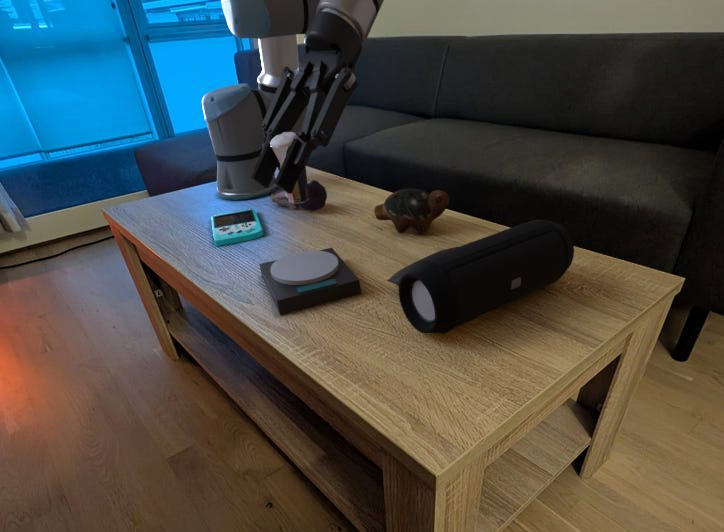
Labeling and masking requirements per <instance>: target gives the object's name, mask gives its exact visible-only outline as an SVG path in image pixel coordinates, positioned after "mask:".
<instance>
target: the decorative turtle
mask: <svg viewBox="0 0 724 532" xmlns="http://www.w3.org/2000/svg"><path fill="white" fill-rule="evenodd" d="M449 203H450V198H449V195H448V194H447V193H446V192H445V191H443V190H440V189H436V190H432V191H431V192H430V193H428V192H427V191H426V190H424V189H420V188H411V187H410V188H402V189H398V190H396V191H394V192H393V193H391V194H390V195H389V196H388V197H387V198H386V199H385V200H384V202H383V203H382V204H378V205H376V206H375V207H374V209H373V212H374V216H375V218H376V220H378V221H391V222H392V223H393V225H394V228H395V230H396V232H397V233H399V234H403V233H405V232H407V230H409V229H410V228H412V229H413V230H414V231H415V232H416V234H418V235H419V236H424V235H425V234H426V233H427V232H428V229H429V227H430V225H432V223H433V221H435V220H436V219H438V218H439V217H441V215H443V214H444V212H445V211H446V209H447V207H448V206H449Z"/></svg>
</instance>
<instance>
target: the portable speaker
mask: <svg viewBox="0 0 724 532" xmlns="http://www.w3.org/2000/svg"><path fill="white" fill-rule="evenodd" d="M456 247H457V248H454V247H453V248H454V249H452V250H449V251H446V252H443V253H441V254H438V255H435V256H433V257H430V258H427V259H424V260H422V261H419V260H418V261H419V262H417V263H416V264H415V265H414V266H413V267H412V268H410V269H409V270H408V271H407V272H406V273H405V274H404V275H403V276H402V278H401V280H400V283H399V286H398V299H399V304H400V306H401V309H402V312H403V314H404V316H405V317H406V319H407V321H408V323H410V325H411V326H412V327H413V328H414V329H415V330H417V331H418V332H419V333H422V334H426V335H427V334H429V335H430V334H446V333H449V332H450V331H452V330H454V329H456V328H458V327H460V326H463V325H465V324H467V323H469V322H471V321H474V320H476V319H478V318H481V317H482V316H484V315H486V314H489V313H491V312H494V311H496V310H498V309H500V308H502V307H504V306H506V305H508V304H511V303H514V302H515V301H517V300H519V299H522V298H524V297H526V296H528V295H530V294H532V293H535V292H536V291H539V290H541V289H543V288H546V287H548V286H550V285H552V284H555V283H557V282H558V281H559V280H560V279H561V278H562V277H563V276H564V275H565V274H566V272H567V271H568V269H569V268H570V266H571V265H572V263H573V260H574V258H575V257H574V256H575V245H574V241H573V238H572V235H571V234H570V233H569V231H568V230H567V229H566V228H565V226H563V225H562V224H560V223H559V222H556V221H551V220H546V219H541V218H539V219H532V220H530V221H527V222H523V223H520V224H518V225H515V226H512V227H509V228H507V229H504V230H501V231H499V232H496V233H493V234H489V235H488V236H485V237H482V238H479V239H476V240H474V241H470V242H469V243H466V244H463V245H460V246H456Z"/></svg>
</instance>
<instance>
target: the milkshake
mask: <svg viewBox="0 0 724 532" xmlns="http://www.w3.org/2000/svg"><path fill="white" fill-rule="evenodd" d="M261 130H262V129H261ZM262 132H263V130H262ZM263 134H264V135H265V133H264V132H263ZM265 137H266V135H265ZM266 138H267V137H266ZM294 138H295V139H298V140H299V141H300V142H301V139H300V138H299V137H298V136H297V135H296V133H294V132H283V133H282V134H280V135H276V136H275V137H274V138H273V139H272V140H271V142H270V141H269V140H268V138H267V140H268V141H269V143H270V145H271V148H272V152H273V155H274V158H275V161H276V164H277V170H278V172H279V171H280V168H281V166H282V164H283V162H284V159H285V157H286V155H287V153H288V150H289V148H290V146H291V144H292V141H293V139H294ZM307 182H308V175H307V165H306V166H305V168H304V169H303V170H302V171H301V173H300V176H299V178H298V180H297V182H296V185H295V187H294V189H293V191H292V194H289V193H287V192H286V191H285V195H286V198H287V201H288V202H289V203H293V204H296V203H302V202H305V201H307V200H308V199H309V191H308V183H307Z"/></svg>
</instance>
